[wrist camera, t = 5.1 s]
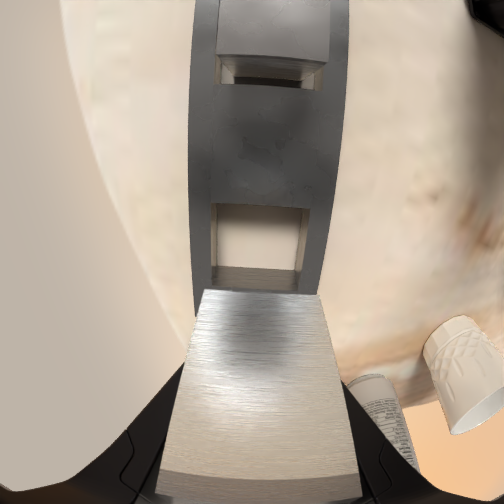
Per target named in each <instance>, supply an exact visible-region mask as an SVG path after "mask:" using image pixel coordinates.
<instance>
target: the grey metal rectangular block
mask: <svg viewBox="0 0 504 504" xmlns="http://www.w3.org/2000/svg"><path fill="white" fill-rule="evenodd" d="M329 39H330V0H220V7H219V19H218V32H217V46H216V55H217V56H218V57H219V59H220V60H221V61H222V62H223V64H224V65H225V66H226V67H227V69H228V70H229V71H230V72H231V74H232V75H233V76H240V77H263V78H277V79H289V80H298V81H302V80H304V79H305V78H307V77H308V76H309V75H311V74H312V73H314V72H315V71H317V70H318V69H320V68H321V67H323V66H324V65H326V64H327V63H328V61H329Z"/></svg>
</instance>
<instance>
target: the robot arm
mask: <svg viewBox="0 0 504 504" xmlns="http://www.w3.org/2000/svg"><path fill="white" fill-rule="evenodd" d="M469 6H470V12H471V15H472V17H473V18H474V19H476V20H477V21H479V22H480V23H482V24H484V25H485V26H487V27H488V28H490V29H491V30H493V31H494V32H496V33H497V34H499V35H500V36H502V37H503V38H504V0H469ZM476 14H477V15H476ZM184 363H185V362H184ZM184 363H183V364H182V365H181V367H180V368H179V369H178V370H177V371H176V372H175V373H174V374H173V376H172V377H171V378H170V379H169V380H168V382H167V383H166V384H165V385H164V386H163V387H162V388H161V390H160V391H159V392H158V393H157V394H156V395H155V396H154V398H153V399H152V400H151V401H150V402H149V403H148V404H147V406H146V407H145V408H144V409H143V410H142V411H141V413H140V414H139V415H138V416H137V417H136V418H135V419H134V420H133V422H132V423H131V424H130V425H129V426H128V427H127V430H124V432H123V433H122V434H121V435H120V436H119V437H118V438H117V439H116V440H115V441H114V442H113V444H111V446H110V447H108V448H107V449H106V450H105V451H104V452H103V453H102V454H101V455H99V456H98V457H97V458H96V459H95V460H94V461H92V462H91V463H90V464H89V465H87V466H86V467H85V468H84V469H83V470H81V471H80V472H79V473H77V474H76V475H75V476H73V477H72V478H70V479H68V480H66V481H63V482H60V483H56V484H53V485H48V486H44V487H40V488H35V489H30V490H25V491H17V492H16V491H12V490H10V489H9V488H7V487H5V486H4V485H2V484H0V504H167V503H166V502H165V501H164V500H162V499H161V498H160V497H159V496H158V495H157V494H156V493H155V490H156V485H157V480H158V475H159V470H160V466H161V461H162V456H163V452H164V447H165V443H166V438H167V434H168V429H169V425H170V421H171V416H172V412H173V408H174V404H175V399H176V395H177V391H178V387H179V383H180V379H181V375H182V371H183V367H184ZM340 380H341V379H340ZM341 384H342V389H343V393H344V398H345V403H346V407H347V412H348V417H349V422H350V427H351V432H352V437H353V443H354V448H355V453H356V459H357V465H358V471H359V477H360V483H361V490H362V497H360V498H359V499H357V500H355V501H354V502H352V503H350V504H504V494H502V495H501V496H499V497H497V498H495V499H494V500H492V501H481V500H476V499H471V498H468V497H463V496H460V495H456V494H452V493H448V492H445V491H442V490H440V489H438V488H436V487H435V486H433V485H432V484H431V483H430V482H429V481H427V479H425V478H424V477H423V476H422V475H421V474H420V473H419V472H418V471H417V470H416V469H415V468H414V467H413V466H412V465H411V464H410V463H409V462H408V461H407V460H406V459H405V458H404V457H403V456H402V455H401V454H400V453H399V452H398V451H397V449H396V448H395V447H394V446H393V445H392V443H391V442H390V441H389V440H388V438H386V436H385V435H384V433H383V432H382V431H381V430H380V428H379V427H378V426H377V425H376V423H375V422H374V421H373V420H372V418H371V417H370V416H369V415H368V413H367V412H366V411H365V409H364V408H363V407H362V406H361V404H360V403H359V402H358V401H357V399H356V398H355V397H354V396H353V394H352V393H351V392H350V390H349V389H348V388H347V387H346V385H345V384H344V383H343V382H342V380H341Z"/></svg>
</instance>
